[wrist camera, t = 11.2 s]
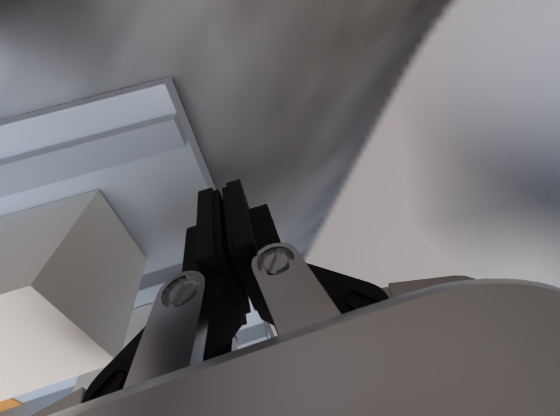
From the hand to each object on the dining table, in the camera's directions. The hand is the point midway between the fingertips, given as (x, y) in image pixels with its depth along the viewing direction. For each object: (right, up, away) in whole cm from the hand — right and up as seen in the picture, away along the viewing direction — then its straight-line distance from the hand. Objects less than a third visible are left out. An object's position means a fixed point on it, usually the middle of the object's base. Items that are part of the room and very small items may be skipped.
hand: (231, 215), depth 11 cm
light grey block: (-7, -1, +1) cm, 7 cm away
